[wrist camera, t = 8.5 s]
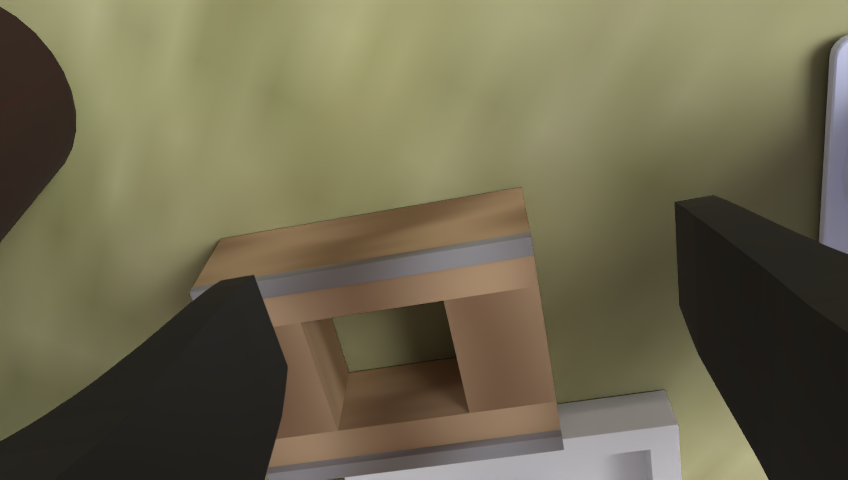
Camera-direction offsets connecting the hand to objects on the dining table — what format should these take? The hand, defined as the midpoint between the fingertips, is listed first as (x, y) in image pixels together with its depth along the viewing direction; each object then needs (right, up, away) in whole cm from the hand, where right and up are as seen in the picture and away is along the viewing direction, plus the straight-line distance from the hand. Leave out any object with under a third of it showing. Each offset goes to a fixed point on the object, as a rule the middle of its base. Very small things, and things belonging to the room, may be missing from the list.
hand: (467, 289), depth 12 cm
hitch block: (-2, -2, +13) cm, 13 cm away
